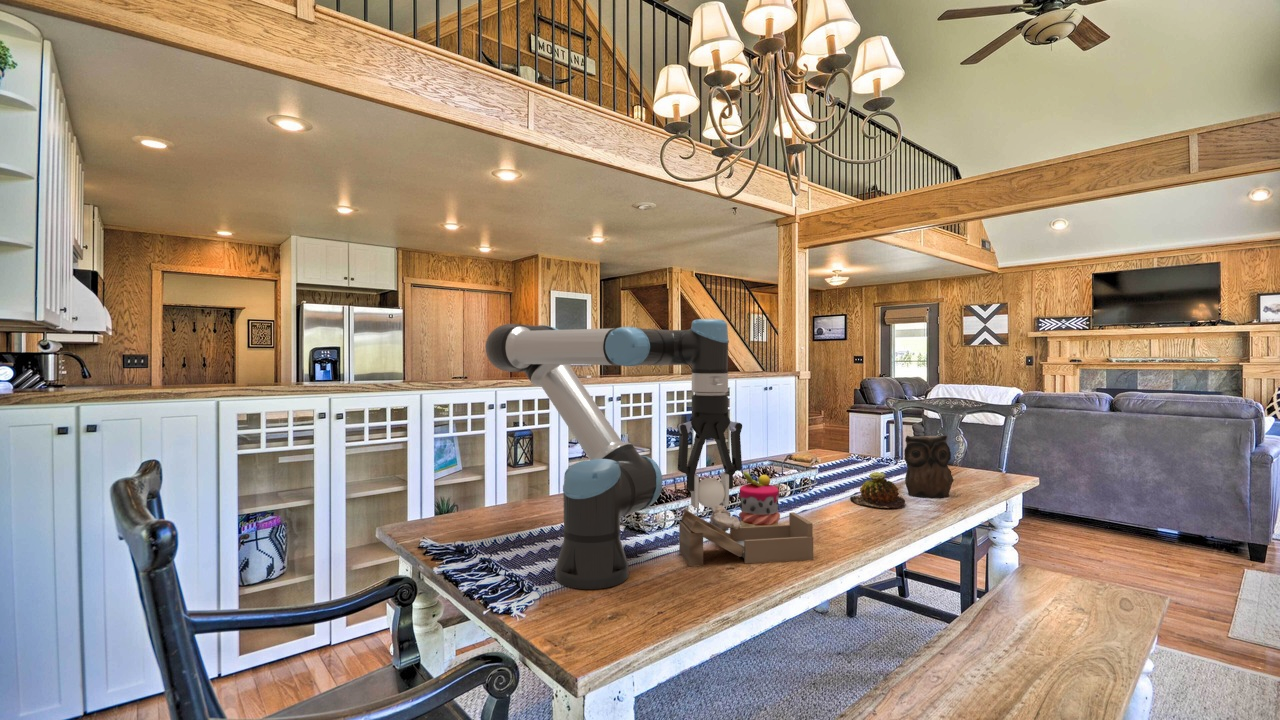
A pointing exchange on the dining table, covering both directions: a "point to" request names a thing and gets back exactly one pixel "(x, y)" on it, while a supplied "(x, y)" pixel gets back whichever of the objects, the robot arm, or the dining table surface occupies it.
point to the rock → (723, 518)
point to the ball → (711, 492)
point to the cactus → (879, 493)
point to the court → (776, 541)
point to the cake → (759, 502)
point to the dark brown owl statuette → (927, 466)
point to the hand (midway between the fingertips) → (709, 505)
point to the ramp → (693, 535)
